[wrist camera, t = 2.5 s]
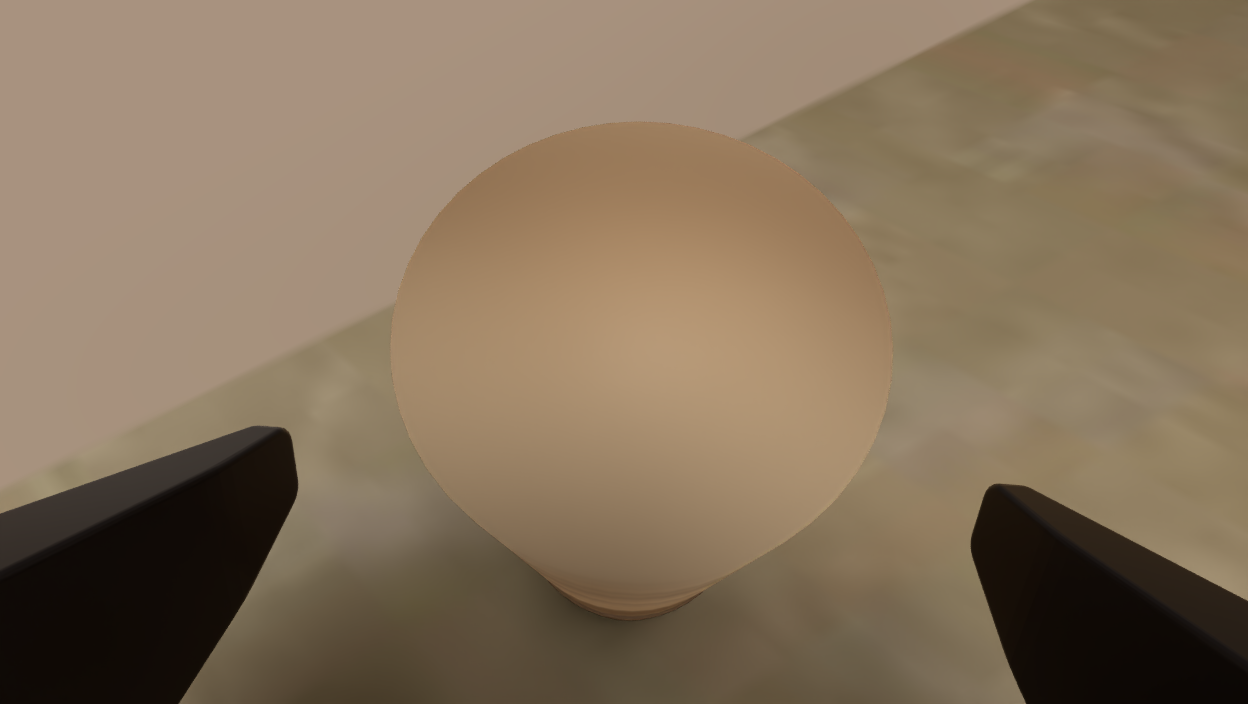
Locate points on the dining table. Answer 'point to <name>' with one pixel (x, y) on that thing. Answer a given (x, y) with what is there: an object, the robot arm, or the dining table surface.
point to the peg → (641, 359)
